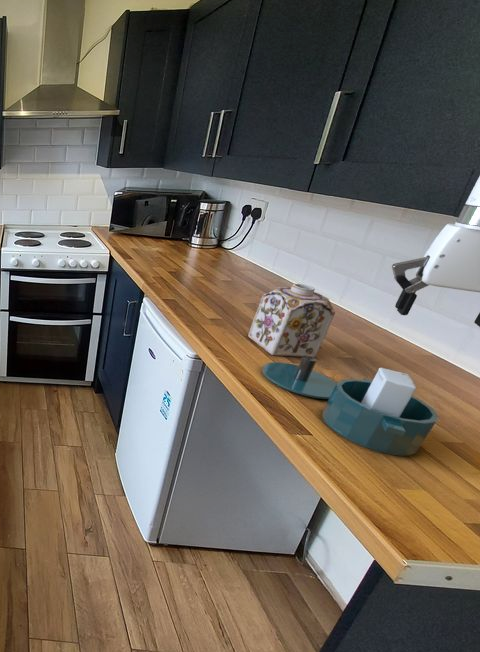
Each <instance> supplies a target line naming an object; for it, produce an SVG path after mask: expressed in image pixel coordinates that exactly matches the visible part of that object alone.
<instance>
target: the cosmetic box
mask: <svg viewBox="0 0 480 652" xmlns="http://www.w3.org/2000/svg"><path fill="white" fill-rule="evenodd" d="M372 380H373V381H372V383H371V385H370V387H369V389H368V391H367V393H366V394H365V396H364V398H363V400H362V402H361V403H362V404H363V405H365V406H367V407H370V408H372V409H375V410H377V411H380V412H382V413H385V414H388V415H392V416H396V417H400V415H401V414H402V412H403V410H404V409H405V407H406V405H407V404H408V402H409V400H410V398H411V397H412V396H414V393H415V391H416V390H417V387H416V385H415V383H414V381H413V379H412V378H411V376H410V375H409V374H408V373H405V372H400V371H396V370H392V369H388V368H384V367H379V368H378V370H377V372H376V374H375V375H374V378H373V379H372Z"/></svg>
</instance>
